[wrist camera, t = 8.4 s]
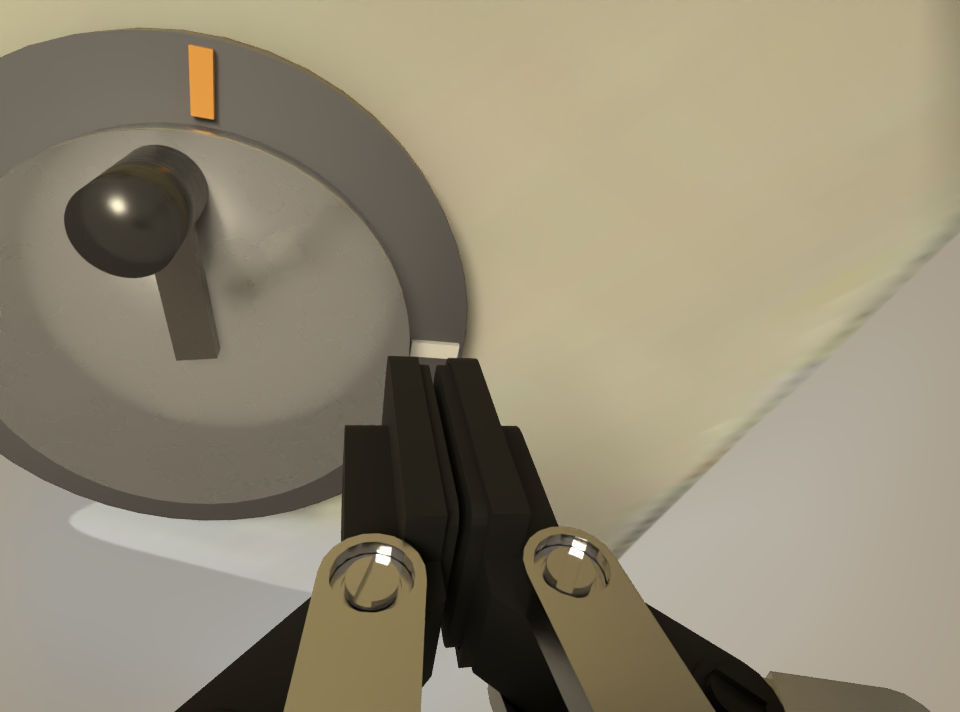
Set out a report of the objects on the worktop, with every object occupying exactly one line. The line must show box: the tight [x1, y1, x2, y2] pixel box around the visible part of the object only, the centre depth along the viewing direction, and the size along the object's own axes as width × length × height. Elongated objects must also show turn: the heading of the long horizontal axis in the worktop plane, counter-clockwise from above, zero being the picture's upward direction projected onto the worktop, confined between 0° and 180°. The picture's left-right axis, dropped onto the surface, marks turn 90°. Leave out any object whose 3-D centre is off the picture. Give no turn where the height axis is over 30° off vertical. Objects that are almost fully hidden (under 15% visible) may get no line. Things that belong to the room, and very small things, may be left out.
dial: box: [0, 122, 410, 504], centre depth 24 cm, size 18×18×6 cm
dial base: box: [0, 28, 467, 520], centre depth 27 cm, size 24×24×2 cm
